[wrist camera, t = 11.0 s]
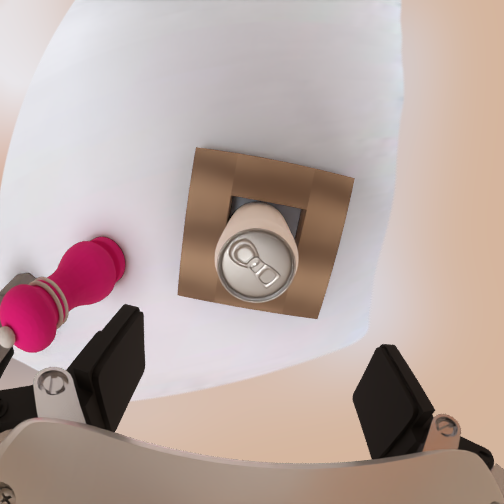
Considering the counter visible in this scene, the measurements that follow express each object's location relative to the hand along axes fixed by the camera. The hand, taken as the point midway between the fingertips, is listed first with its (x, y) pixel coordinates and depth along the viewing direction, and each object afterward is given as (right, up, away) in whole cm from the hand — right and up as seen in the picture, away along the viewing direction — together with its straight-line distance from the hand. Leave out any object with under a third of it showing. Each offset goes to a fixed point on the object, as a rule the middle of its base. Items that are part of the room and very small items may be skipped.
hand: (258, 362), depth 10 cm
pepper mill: (-19, +3, +23) cm, 30 cm away
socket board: (+1, +6, +21) cm, 22 cm away
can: (0, +7, +21) cm, 23 cm away
